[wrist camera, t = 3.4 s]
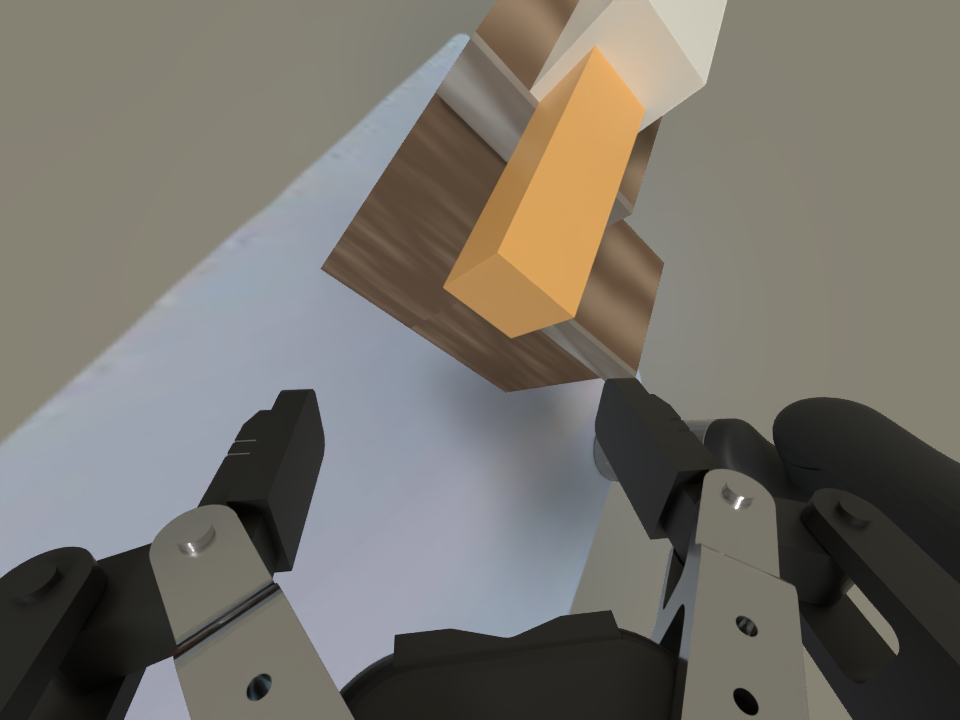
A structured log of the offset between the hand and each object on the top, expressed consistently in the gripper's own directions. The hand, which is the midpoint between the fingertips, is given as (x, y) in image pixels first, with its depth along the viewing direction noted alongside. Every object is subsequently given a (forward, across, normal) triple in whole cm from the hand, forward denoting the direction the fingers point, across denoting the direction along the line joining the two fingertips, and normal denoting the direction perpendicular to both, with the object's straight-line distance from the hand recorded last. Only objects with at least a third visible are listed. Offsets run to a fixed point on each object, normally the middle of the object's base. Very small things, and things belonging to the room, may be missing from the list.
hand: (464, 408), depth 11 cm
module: (+14, -6, -6) cm, 17 cm away
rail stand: (+41, -2, +14) cm, 43 cm away
